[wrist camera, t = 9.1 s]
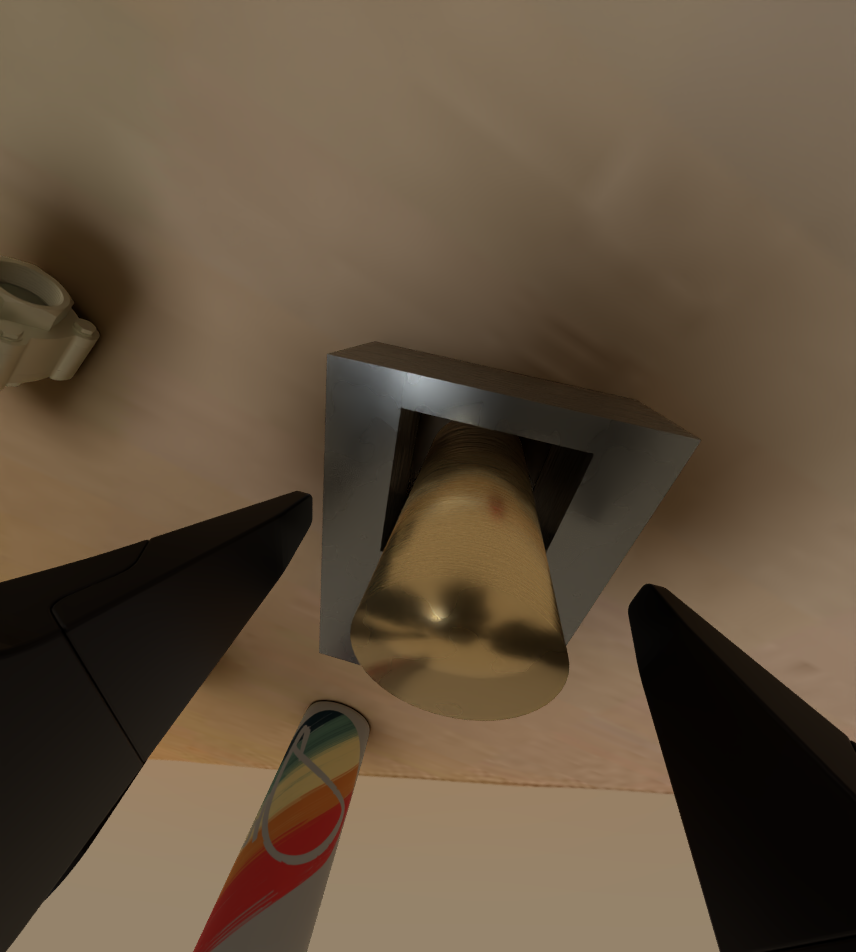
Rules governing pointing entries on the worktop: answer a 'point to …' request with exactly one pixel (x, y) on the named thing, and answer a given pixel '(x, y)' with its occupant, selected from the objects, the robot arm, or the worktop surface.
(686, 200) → the worktop surface
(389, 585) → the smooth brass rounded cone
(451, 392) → the socket block
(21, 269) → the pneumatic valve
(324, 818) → the lotion bottle
